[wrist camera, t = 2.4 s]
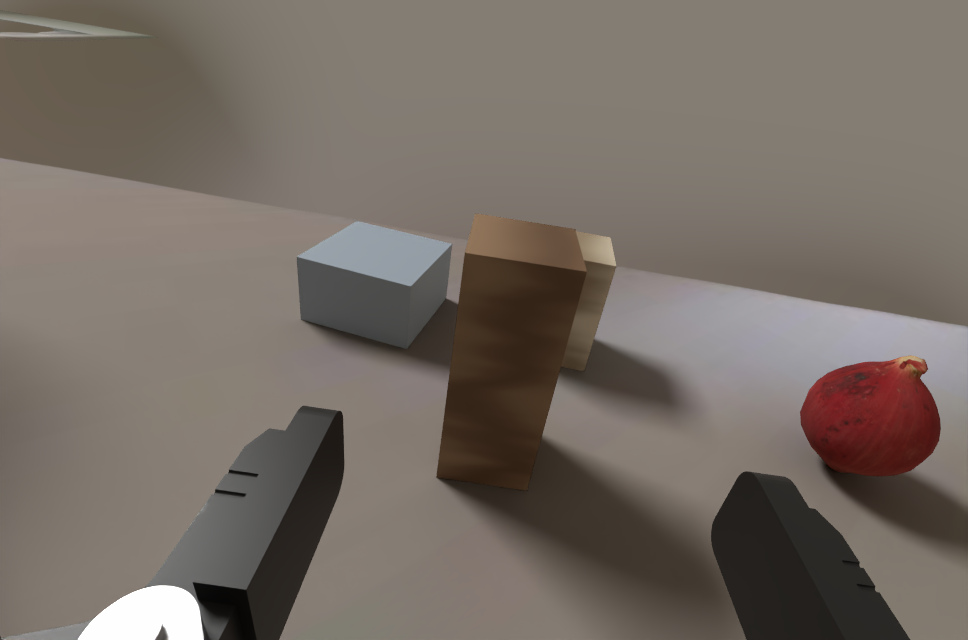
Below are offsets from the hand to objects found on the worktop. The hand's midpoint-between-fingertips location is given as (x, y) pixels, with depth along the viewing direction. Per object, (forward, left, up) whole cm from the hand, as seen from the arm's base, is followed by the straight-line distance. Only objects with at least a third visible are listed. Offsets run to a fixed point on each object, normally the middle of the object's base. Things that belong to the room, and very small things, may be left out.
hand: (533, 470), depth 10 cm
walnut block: (-3, +11, -11) cm, 16 cm away
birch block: (-2, +23, -12) cm, 26 cm away
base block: (-15, +21, -12) cm, 28 cm away
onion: (+16, +19, -12) cm, 27 cm away
